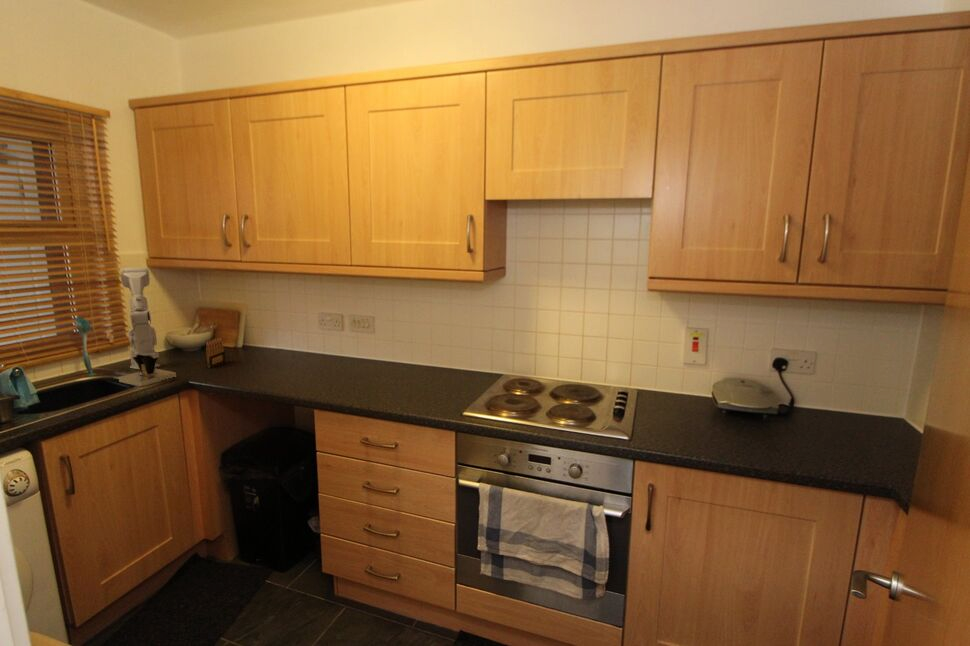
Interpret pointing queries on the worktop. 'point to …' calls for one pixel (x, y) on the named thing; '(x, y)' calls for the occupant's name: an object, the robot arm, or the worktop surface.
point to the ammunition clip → (215, 353)
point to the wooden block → (145, 371)
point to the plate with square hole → (142, 381)
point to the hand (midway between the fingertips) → (147, 373)
